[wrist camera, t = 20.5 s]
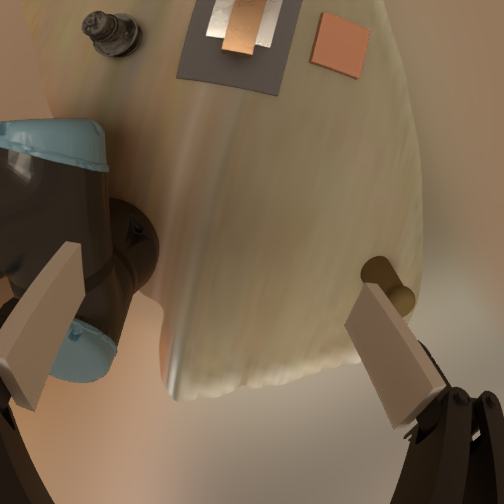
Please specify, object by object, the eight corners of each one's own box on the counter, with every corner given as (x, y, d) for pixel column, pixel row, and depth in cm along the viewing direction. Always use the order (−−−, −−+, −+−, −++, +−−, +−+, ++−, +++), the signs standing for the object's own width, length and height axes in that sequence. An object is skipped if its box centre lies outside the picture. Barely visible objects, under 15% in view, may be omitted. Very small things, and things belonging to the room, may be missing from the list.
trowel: (263, 69, 32) (277, 60, 24) (200, 57, 30) (195, 45, 23) (288, -23, 25) (306, -49, 18) (228, -36, 24) (232, -66, 16)
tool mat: (176, 78, 32) (176, 77, 31) (217, -56, 22) (217, -58, 21) (276, 96, 34) (277, 95, 34) (310, -36, 24) (311, -37, 24)
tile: (311, 61, 31) (324, 11, 28) (307, 62, 33) (319, 14, 29) (359, 78, 33) (370, 30, 29) (354, 79, 34) (365, 32, 31)
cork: (376, 250, 48) (409, 286, 38) (395, 265, 50) (426, 301, 40) (354, 276, 50) (381, 316, 40) (373, 289, 52) (400, 328, 42)
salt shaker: (94, 47, 28) (51, 34, 17) (121, 13, 26) (87, -14, 15) (124, 66, 30) (88, 56, 19) (153, 31, 28) (128, 6, 18)
